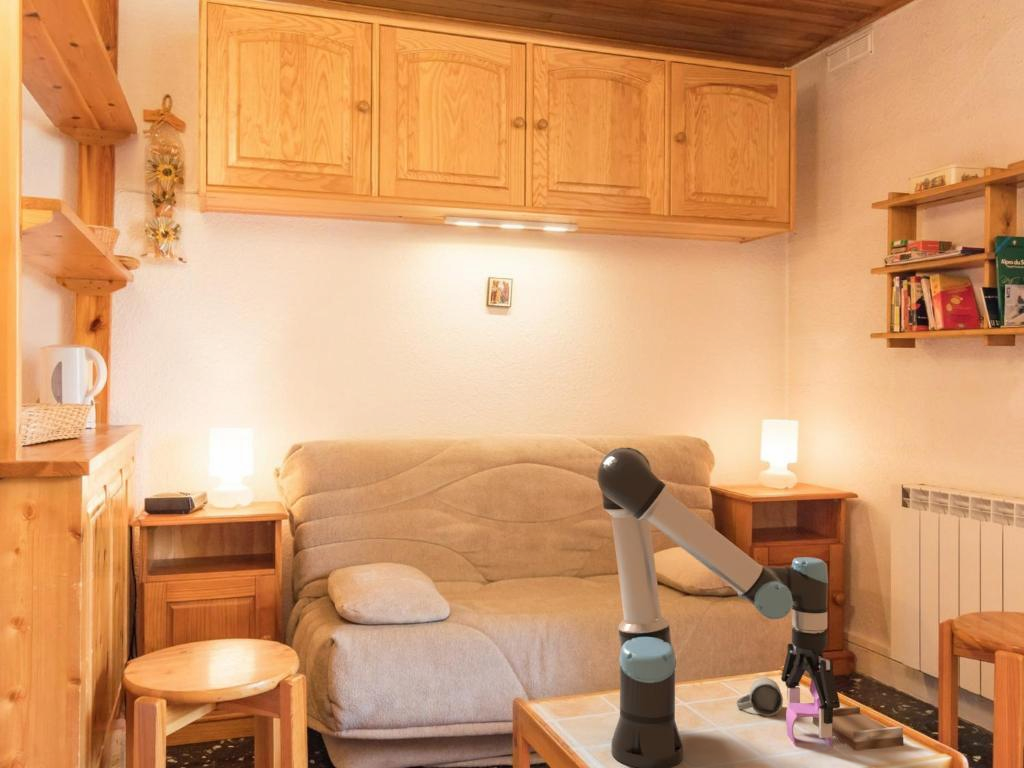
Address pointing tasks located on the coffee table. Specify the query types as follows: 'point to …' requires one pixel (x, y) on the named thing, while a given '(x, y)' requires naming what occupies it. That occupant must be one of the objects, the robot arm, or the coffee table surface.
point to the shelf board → (862, 730)
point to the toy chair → (803, 712)
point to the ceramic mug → (762, 697)
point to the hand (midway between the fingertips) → (809, 726)
